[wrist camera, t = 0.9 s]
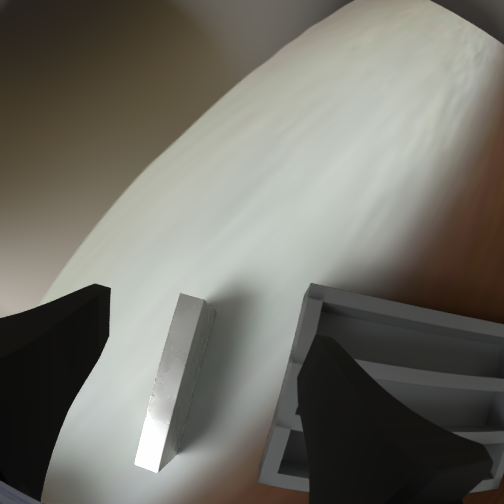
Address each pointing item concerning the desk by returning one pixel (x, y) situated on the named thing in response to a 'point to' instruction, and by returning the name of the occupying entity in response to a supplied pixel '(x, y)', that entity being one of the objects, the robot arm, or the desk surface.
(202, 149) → the desk surface
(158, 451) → the panel
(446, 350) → the rack
